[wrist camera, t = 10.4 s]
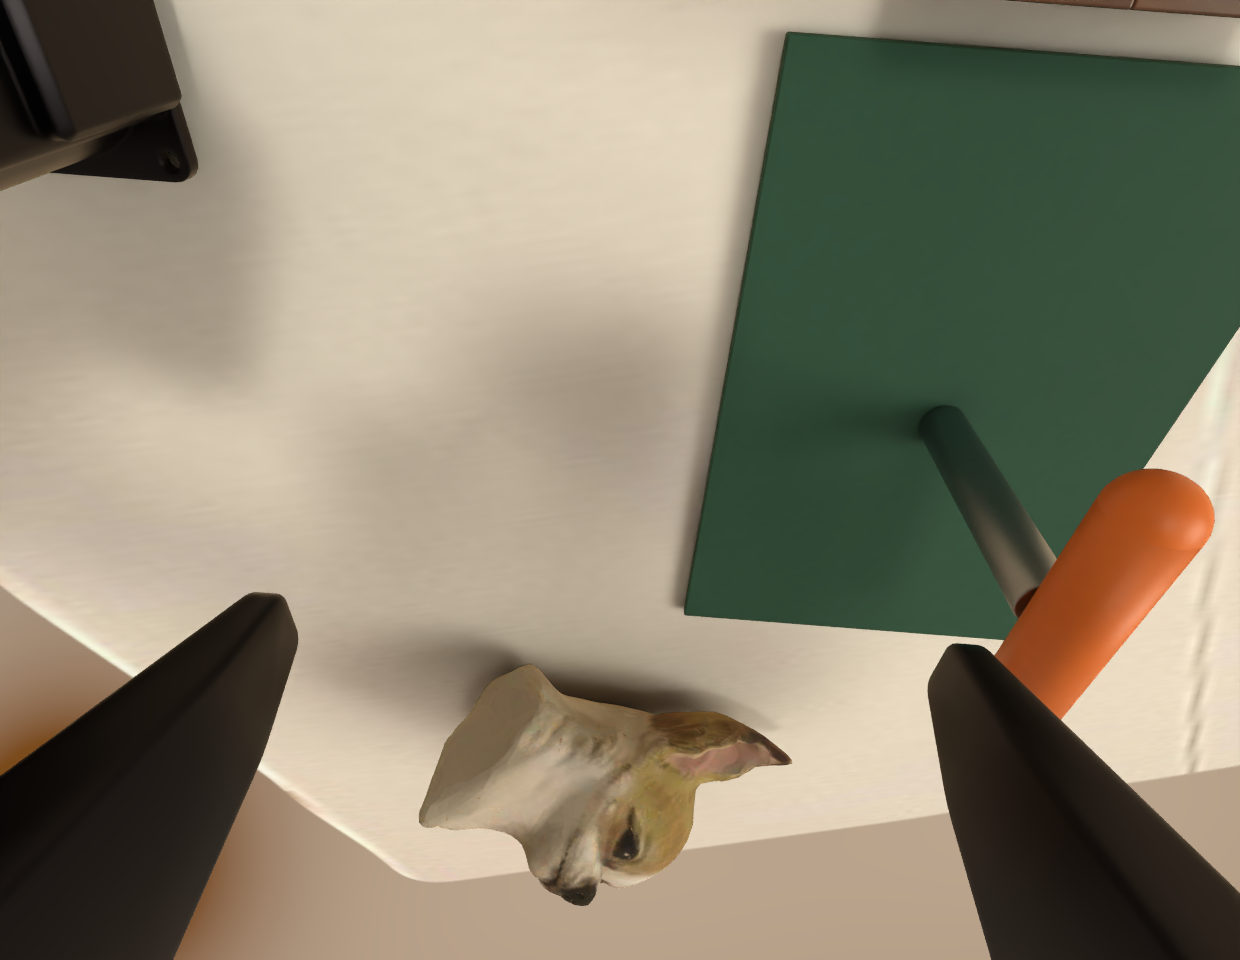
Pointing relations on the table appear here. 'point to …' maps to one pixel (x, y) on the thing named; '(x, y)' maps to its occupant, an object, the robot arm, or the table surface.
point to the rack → (1160, 6)
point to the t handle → (1070, 559)
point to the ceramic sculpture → (584, 780)
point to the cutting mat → (958, 315)
